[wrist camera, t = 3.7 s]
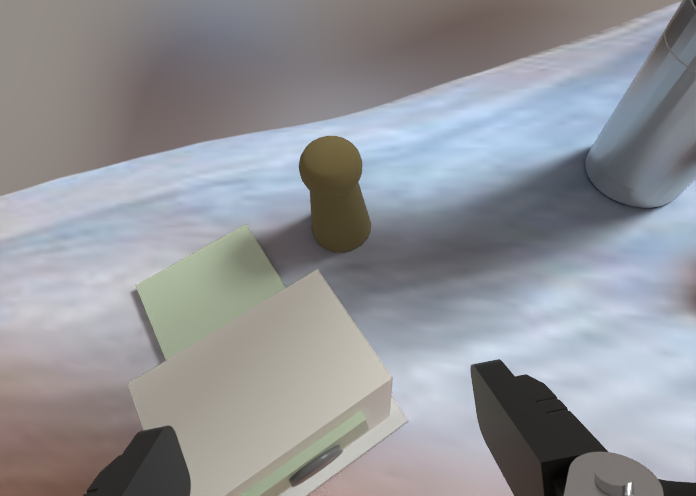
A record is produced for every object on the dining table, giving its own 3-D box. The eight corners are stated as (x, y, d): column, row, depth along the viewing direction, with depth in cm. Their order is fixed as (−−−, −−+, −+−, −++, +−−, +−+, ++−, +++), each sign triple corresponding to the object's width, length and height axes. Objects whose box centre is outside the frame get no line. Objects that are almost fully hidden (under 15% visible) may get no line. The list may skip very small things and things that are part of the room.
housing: (346, 330, 36) (323, 246, 23) (407, 422, 32) (422, 384, 19) (213, 417, 34) (102, 378, 20) (262, 528, 30) (163, 570, 16)
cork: (351, 262, 40) (339, 194, 30) (300, 236, 42) (275, 164, 32) (381, 216, 42) (380, 139, 32) (332, 194, 44) (317, 115, 34)
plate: (248, 228, 43) (246, 224, 42) (305, 319, 37) (303, 316, 36) (139, 288, 40) (135, 285, 39) (183, 395, 35) (179, 394, 34)
